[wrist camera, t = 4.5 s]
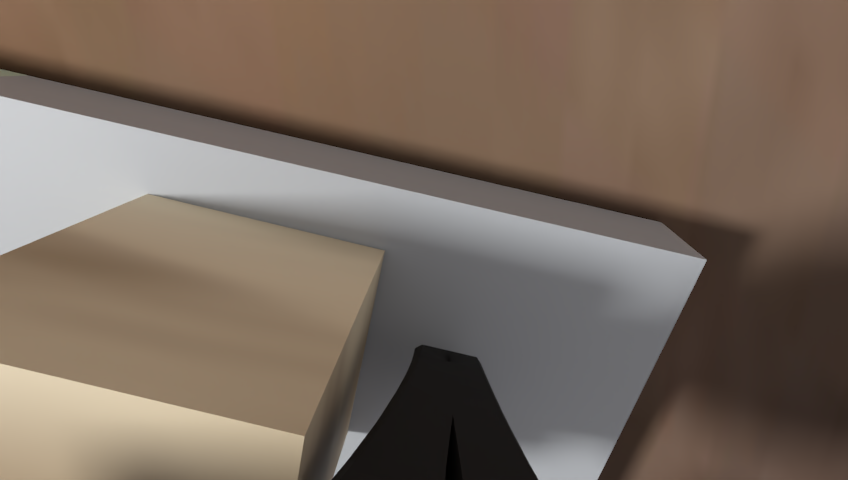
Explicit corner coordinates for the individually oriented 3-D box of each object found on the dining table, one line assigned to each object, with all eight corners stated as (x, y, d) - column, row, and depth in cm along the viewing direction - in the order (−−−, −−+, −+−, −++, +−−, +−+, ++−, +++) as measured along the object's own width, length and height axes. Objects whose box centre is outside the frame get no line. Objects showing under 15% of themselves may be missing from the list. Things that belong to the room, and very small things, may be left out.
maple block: (347, 432, 10) (263, 692, 6) (149, 385, 10) (-73, 611, 6) (384, 250, 8) (303, 436, 4) (147, 193, 8) (-164, 324, 4)
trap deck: (474, 645, 16) (476, 722, 14) (-118, 510, 16) (-196, 570, 14) (661, 222, 10) (707, 259, 8) (-292, 1, 10) (-467, -13, 8)
